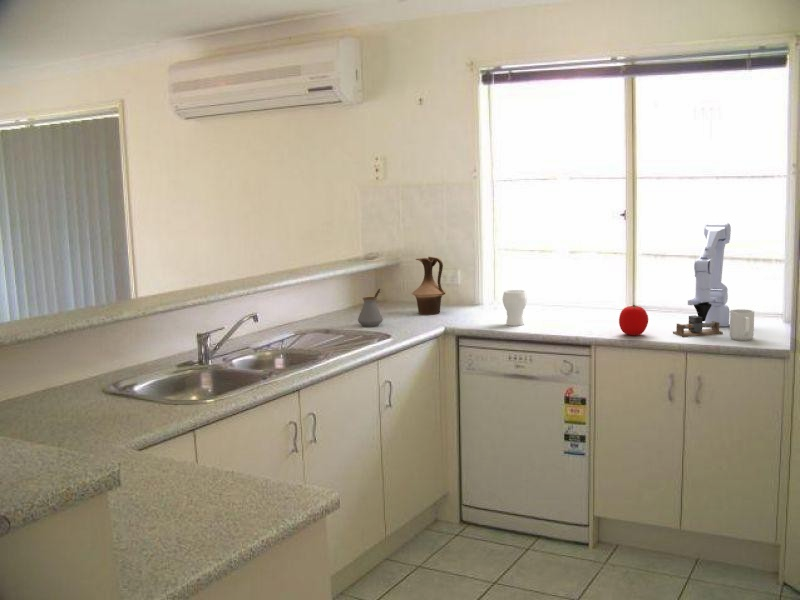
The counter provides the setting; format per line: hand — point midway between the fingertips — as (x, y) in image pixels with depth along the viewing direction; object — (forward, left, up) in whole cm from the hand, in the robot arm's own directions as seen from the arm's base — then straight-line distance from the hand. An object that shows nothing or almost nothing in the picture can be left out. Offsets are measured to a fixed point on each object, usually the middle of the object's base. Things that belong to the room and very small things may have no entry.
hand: (702, 321), depth 351 cm
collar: (+3, 0, -4) cm, 5 cm away
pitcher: (+94, -89, -6) cm, 129 cm away
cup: (+65, -46, -6) cm, 80 cm away
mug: (-8, +16, -6) cm, 19 cm away
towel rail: (+2, 0, -5) cm, 6 cm away
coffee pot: (+125, -71, -6) cm, 144 cm away
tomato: (+27, -7, -6) cm, 28 cm away
